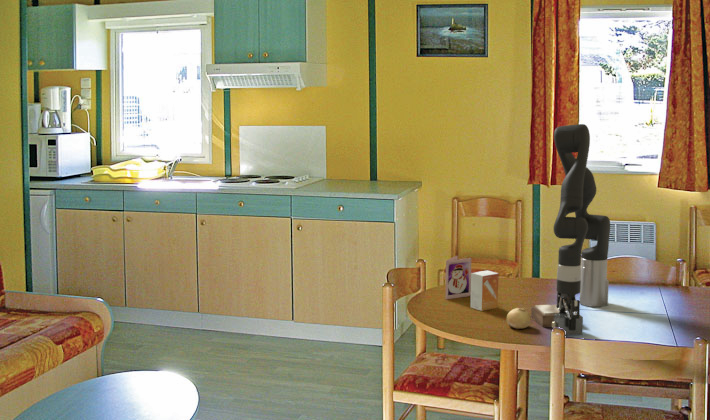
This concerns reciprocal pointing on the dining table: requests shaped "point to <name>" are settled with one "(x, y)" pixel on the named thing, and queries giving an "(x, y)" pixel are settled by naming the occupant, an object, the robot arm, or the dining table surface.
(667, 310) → the dining table surface
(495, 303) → the small box
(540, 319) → the stand
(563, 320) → the block
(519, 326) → the onion
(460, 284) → the greeting card
